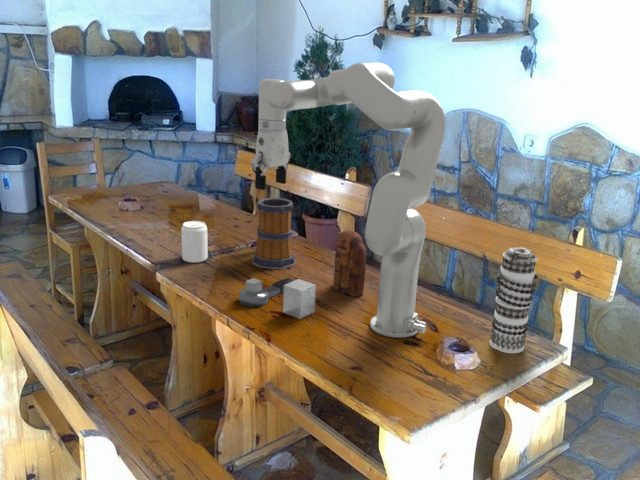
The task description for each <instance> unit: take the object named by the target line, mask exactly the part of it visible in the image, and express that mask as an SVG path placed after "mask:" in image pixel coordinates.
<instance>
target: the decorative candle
mask: <svg viewBox="0 0 640 480" xmlns="http://www.w3.org/2000/svg"><path fill="white" fill-rule="evenodd" d="M538 260H539V258H538V257H537V256H536V255H535V253H534V252H533V251H532V250H531V249H528V248H525V247H520V246H519V247H518V246H514V247H509V248H508V249H507V251H504V252H503V253H502V263H501V264H502V265H501V266H500V267H499V268H498V270H497V272H496V274H497V276H496V282H497V284H495V287H496V290H495V296H496V297H495V299H494V300H495V302H496V305H495V310H494V315H493V316H492V322H491V329H490V335H489V338H490V340H489V342H490V343H489V345H490V346H491V348H493V349H494V348H495V349H494V350H496V349H497V351H498V350H499V351H498V352H502V353H507V354H518V353H522V352H524V350H525V345H526V339H527V332H528V326H529V321H528V319H529V315H528V313H529V308H530V307H531V306H532V301H533V300H534V297H533V295H532V294H533V293H535V291H536V289H534V288H536V287H535V286H537V283H535V281H533V280H536V279H538V275H537V274H536V270H535V268H536V262H537V261H538Z"/></svg>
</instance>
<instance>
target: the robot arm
mask: <svg viewBox="0 0 640 480" xmlns="http://www.w3.org/2000/svg"><path fill="white" fill-rule="evenodd" d="M395 81H396V80H395V74H394V72H393V70H392V69H391V68H390V67H389V66H388V65H386V64H384V63H381V62H357V63H354V64H351V65H349V66H348V67H346V68H342V69H341V68H340V69H335V70H332V71H331V72H330V73H329V74H328V76H325V77H319V78H314V79H313V78H312V79H299V80H298V79H297V80H287V81H286V80H283V79H279V78H264V79H261V80H260V81H259V83H258V85H259V86H258V127H257V128H258V129H257V130H258V131H257V135H256V143H255V144H256V145H255V156H254V157H253V158H252V159H251V160H250V164H251V167H252V169H251V170H252V171H253V174H254V175H255V177H254V178H255V179H254V180H255V181H254V182H255V183H254V184H255V185H254V187H255V189H257V190H262V191H264V190H265V191H266V188H267V176H266V175H265V174H266V173H267V170H268V169H274V168H276V169H275V182H276V183H277V184H281V185H282V184H283V185H285V184H286V183H287V170H288V167H289V166H288V165H289V163H290V158H291V155H292V154H291V152H290V151H289V150H290V149H289V137H288V131H287V128H286V127H287V111H296V110H305V109H315V108H319V107H327V106H332V105H337V106H341V105H346V104H353V105H355V106H356V108H358V109H359V110H360V111H361V112H363V113H364V114H365V115H366V116H367V117H368V118H370V119H371V120H372V121H373V122H374V123H376V125H378V126H379V127H381V128H383V129H385V130H387V131H392V132H393V131H401V130H406V129H410V131H409V135H408V137H407V138H406V141H405V143H404V145H403V149H402V153H401V158H400V160H399V161H400V162H399V165H398V168H397V169H396V171H392V172H388V173H386V174H385V175H383V176H382V177H381V178H380V179H379V180H378V181H377V182H376V185H375V187H374V189H373V192H372V195H371V200H370V206H369V210H368V213H367V219H366V225H365V230H364V235H365V237H364V238H365V242H366V245H367V247H368V249H369V251H371V253H373V254H375V255H377V256H380V257H381V261H380V271H379V273H380V274H379V283H378V284H379V286H378V287H379V288H378V297H377V311H376V315H375V316H373V317H372V318H371V319H370V322H369V324H370V325H369V326H370V329H371V330H373V332H375V333H376V334H378V335H382V336H385V337H389V338H393V339H394V338H395V339H396V338H398V339H400V338H409V337H413V336H415V335H417V334H418V333H421V334H424V333H425V332H426V331H427V322H425V321H422V320H420V319H418V318H419V313H417V312H415V309H416V302H417V301H416V299H417V291H418V290H417V289H418V288H417V287H418V278H419V271H420V261H421V253H422V249H423V246H424V243H425V237H426V231H427V228H426V227H427V226H426V222H425V219H424V217H423V215H422V214H421V213H419V212H418V211H417V210H415V209H414V208H416V207H417V208H418V207H419V206H421V205H424V203H426V201H427V200H428V199H429V197H430V194H431V189H432V186H433V183H434V177H435V173H436V169H437V165H438V160H439V156H440V152H441V148H442V146H443V141H444V138H445V134H446V133H445V132H446V124H447V123H446V116H445V112H444V109H443V107H442V105H441V104H440V102H439V101H438V100H437V99H436V97H434V95H432V94H431V93H428V92H427V91H422V90H415V89H414V90H412V89H411V90H404V91H395V90H393V88H394V86H395ZM261 168H262V169H261Z"/></svg>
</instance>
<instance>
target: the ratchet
mask: <svg viewBox="0 0 640 480" xmlns="http://www.w3.org/2000/svg"><path fill="white" fill-rule="evenodd" d="M295 280H296V279H294V278H291V277H289V276H288V277H286V278H283V279H280V280H278V281H276V282H273V283H272V285H270V286H268V287H265V288H263V280H261V279H257V278H255V277H253V278H250V279H248V280H245V288H243V289H242V290H239V293H238V298H239V299H238V302H239V304H241V306H244V307H249V308H260V307H262V306H265V305H267V304H268V302H269V299H271V298H272V297H275V296H276V295H279V294H282V293H283V294H284V285H285V284H287V283H290V282H292V281H295Z"/></svg>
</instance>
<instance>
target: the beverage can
mask: <svg viewBox="0 0 640 480" xmlns="http://www.w3.org/2000/svg"><path fill="white" fill-rule="evenodd" d="M208 251H209V250H208V227H207V225H206V222H204V221H198V220H191V221H189V220H188V221H185V222H183V224H182V227H181V258H182V260H183V261H185V262H187V263H191V264H198V263H202V262H205V261H206V260H207V259H208Z"/></svg>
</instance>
